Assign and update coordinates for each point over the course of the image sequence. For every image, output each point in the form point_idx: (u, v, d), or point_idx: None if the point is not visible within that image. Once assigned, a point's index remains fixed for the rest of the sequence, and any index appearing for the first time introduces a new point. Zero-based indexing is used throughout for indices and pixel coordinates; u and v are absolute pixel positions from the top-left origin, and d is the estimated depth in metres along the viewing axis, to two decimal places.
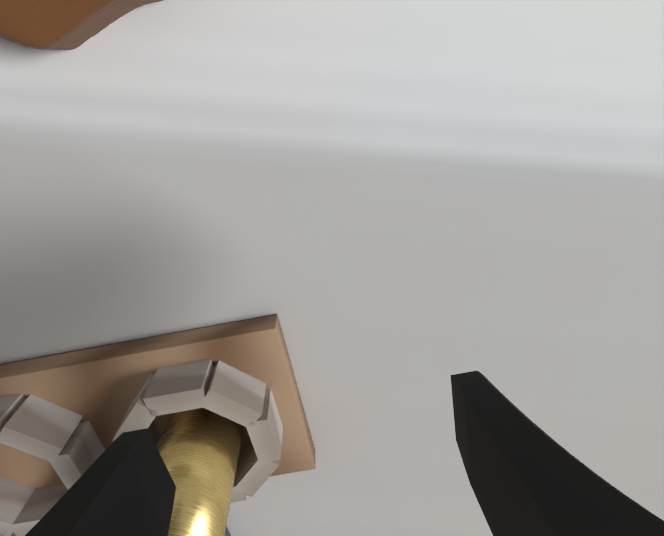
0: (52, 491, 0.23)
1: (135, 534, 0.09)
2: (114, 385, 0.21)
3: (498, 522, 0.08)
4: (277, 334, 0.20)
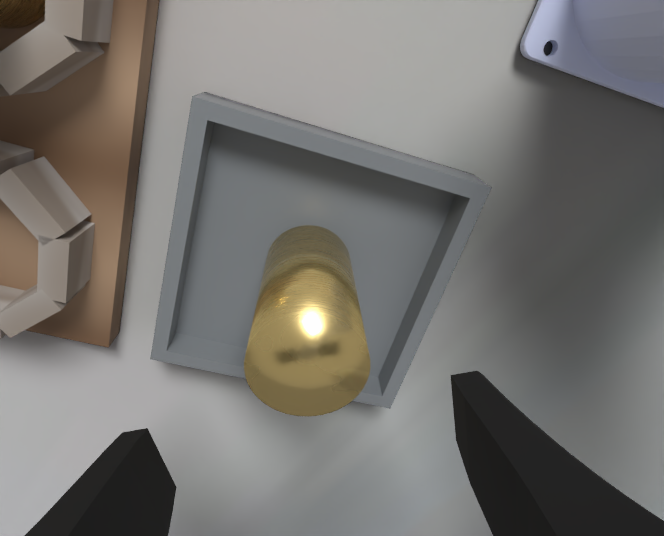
0: None
1: (135, 534, 0.09)
2: None
3: (498, 522, 0.08)
4: None
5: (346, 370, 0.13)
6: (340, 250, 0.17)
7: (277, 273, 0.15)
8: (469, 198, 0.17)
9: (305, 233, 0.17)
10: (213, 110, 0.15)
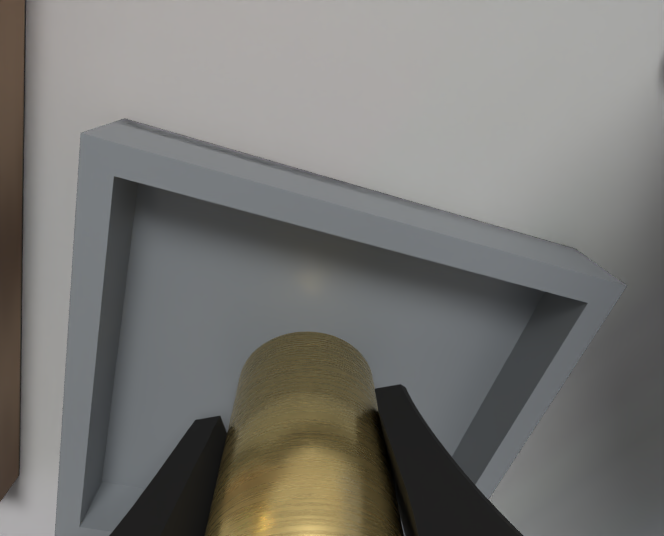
0: None
1: None
2: None
3: None
4: None
5: None
6: (360, 385, 0.10)
7: (245, 468, 0.08)
8: (586, 302, 0.09)
9: (301, 353, 0.10)
10: (124, 158, 0.08)
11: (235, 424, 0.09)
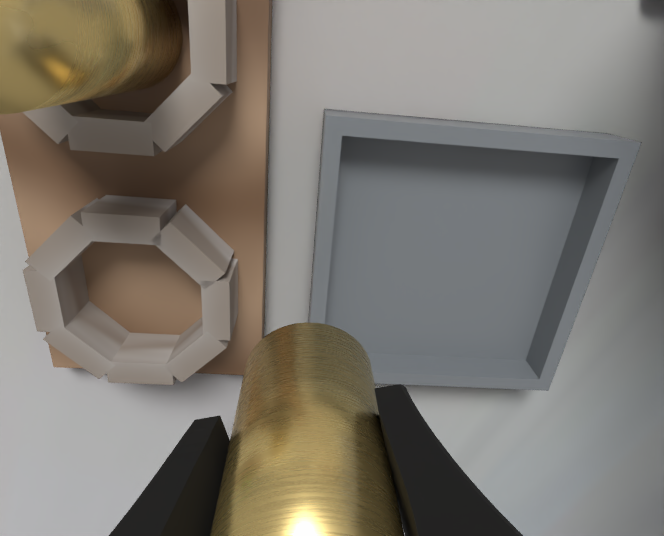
0: None
1: None
2: (46, 135, 0.15)
3: None
4: None
5: None
6: (356, 370, 0.11)
7: (250, 447, 0.09)
8: (617, 158, 0.16)
9: (300, 342, 0.11)
10: (347, 124, 0.15)
11: (241, 410, 0.10)
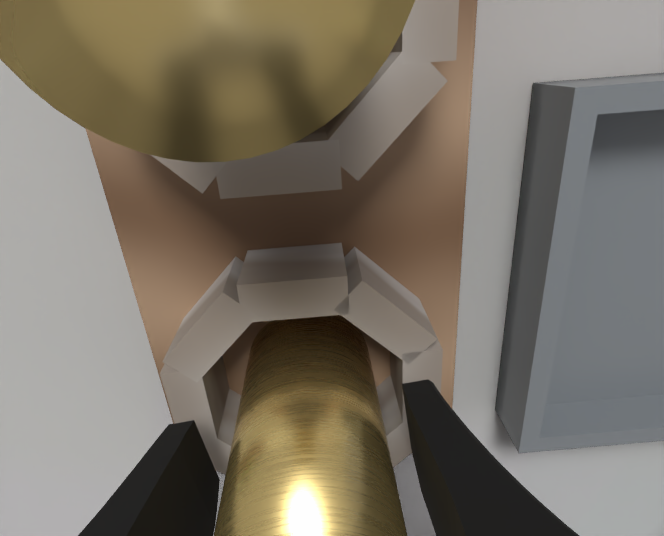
0: (392, 352, 0.13)
1: (187, 525, 0.09)
2: (164, 181, 0.11)
3: (441, 532, 0.08)
4: None
5: None
6: (354, 351, 0.11)
7: (255, 419, 0.09)
8: None
9: (300, 327, 0.12)
10: (607, 96, 0.10)
11: (246, 389, 0.11)
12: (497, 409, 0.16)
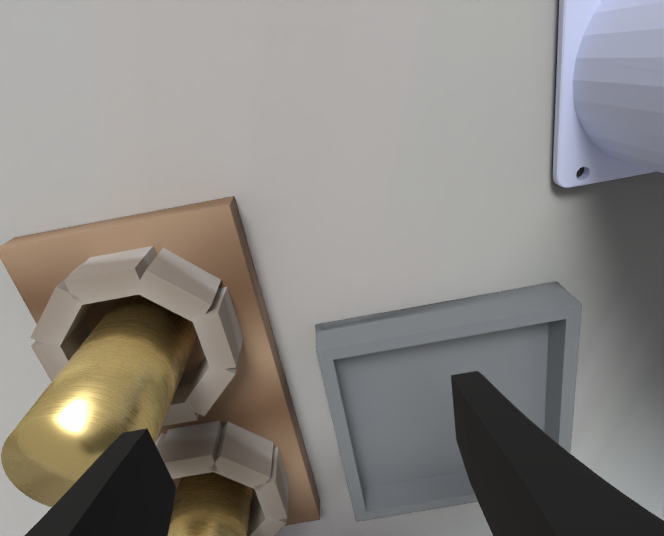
0: None
1: (135, 534, 0.09)
2: None
3: (498, 522, 0.08)
4: (8, 246, 0.17)
5: None
6: (230, 483, 0.20)
7: None
8: (565, 319, 0.18)
9: None
10: (334, 352, 0.18)
11: None
12: None
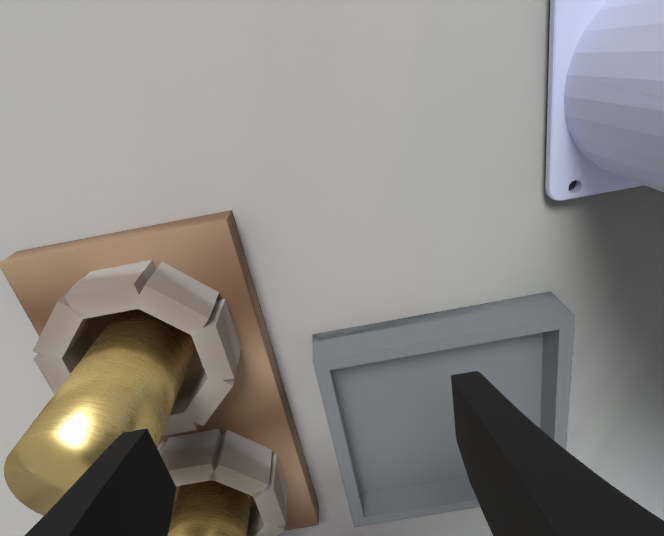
0: None
1: (135, 534, 0.09)
2: None
3: (498, 522, 0.08)
4: (10, 260, 0.17)
5: None
6: (230, 490, 0.21)
7: None
8: (558, 329, 0.19)
9: None
10: (331, 362, 0.19)
11: None
12: None
